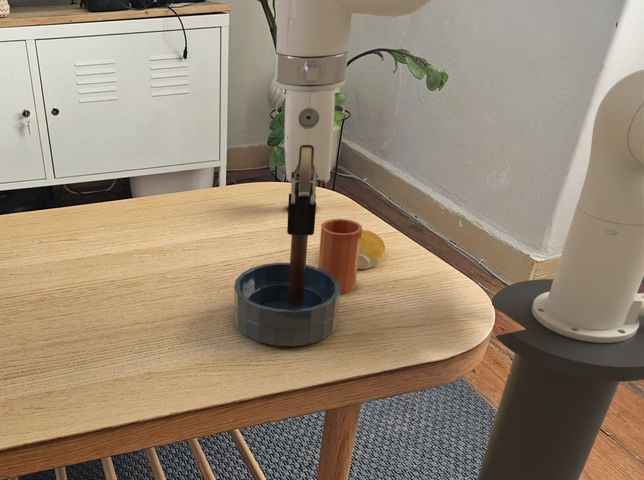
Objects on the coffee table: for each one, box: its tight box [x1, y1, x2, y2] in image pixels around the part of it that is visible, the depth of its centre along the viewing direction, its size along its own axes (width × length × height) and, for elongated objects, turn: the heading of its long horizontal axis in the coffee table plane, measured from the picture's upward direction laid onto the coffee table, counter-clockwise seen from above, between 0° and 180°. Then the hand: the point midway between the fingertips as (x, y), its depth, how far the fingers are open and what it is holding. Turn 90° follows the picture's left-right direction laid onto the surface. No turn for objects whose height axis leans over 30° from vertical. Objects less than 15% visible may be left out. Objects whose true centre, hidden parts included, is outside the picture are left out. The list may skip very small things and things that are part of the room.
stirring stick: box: [288, 185, 311, 307], centre depth 81 cm, size 2×2×16 cm
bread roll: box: [357, 229, 386, 270], centre depth 99 cm, size 8×9×4 cm
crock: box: [317, 218, 363, 295], centre depth 90 cm, size 5×6×9 cm
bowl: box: [233, 262, 341, 347], centre depth 84 cm, size 13×13×6 cm
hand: (300, 228), depth 79 cm, fingers closed on stirring stick, 2 cm apart
